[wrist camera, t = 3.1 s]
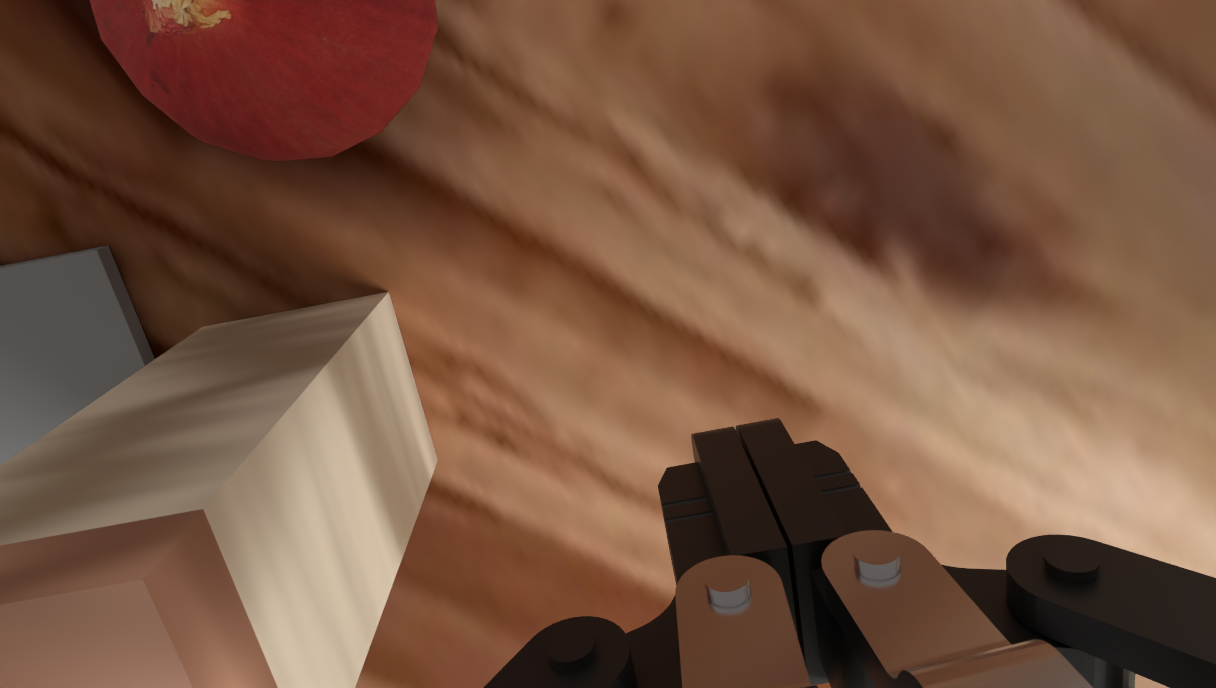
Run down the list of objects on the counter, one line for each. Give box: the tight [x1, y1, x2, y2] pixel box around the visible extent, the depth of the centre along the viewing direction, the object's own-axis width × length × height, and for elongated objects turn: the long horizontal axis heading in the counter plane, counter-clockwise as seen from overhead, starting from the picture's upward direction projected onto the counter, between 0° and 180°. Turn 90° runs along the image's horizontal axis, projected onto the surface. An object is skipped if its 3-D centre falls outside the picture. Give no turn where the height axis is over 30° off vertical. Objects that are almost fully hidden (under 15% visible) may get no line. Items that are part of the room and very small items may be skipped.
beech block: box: [0, 292, 438, 688], centre depth 15 cm, size 5×5×12 cm
